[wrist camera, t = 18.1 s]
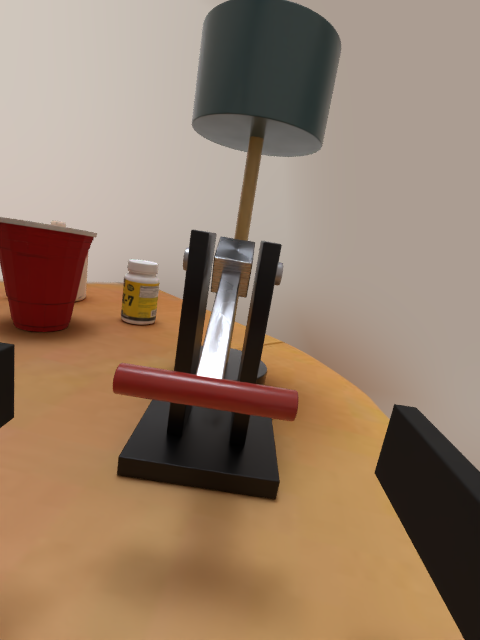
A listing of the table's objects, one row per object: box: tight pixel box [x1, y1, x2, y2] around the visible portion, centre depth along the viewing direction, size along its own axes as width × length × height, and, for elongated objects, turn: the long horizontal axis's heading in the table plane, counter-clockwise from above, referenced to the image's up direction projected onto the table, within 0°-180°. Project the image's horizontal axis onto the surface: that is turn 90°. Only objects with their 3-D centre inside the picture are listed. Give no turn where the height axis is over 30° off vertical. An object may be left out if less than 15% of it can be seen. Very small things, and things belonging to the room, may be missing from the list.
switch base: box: [117, 230, 283, 499], centre depth 23 cm, size 10×9×14 cm
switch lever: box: [113, 237, 298, 421], centre depth 18 cm, size 12×7×2 cm, turn 178°
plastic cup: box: [0, 217, 97, 332], centre depth 40 cm, size 11×11×12 cm
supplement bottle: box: [121, 259, 159, 325], centre depth 48 cm, size 5×5×8 cm
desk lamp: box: [174, 0, 341, 385], centre depth 31 cm, size 11×11×29 cm
